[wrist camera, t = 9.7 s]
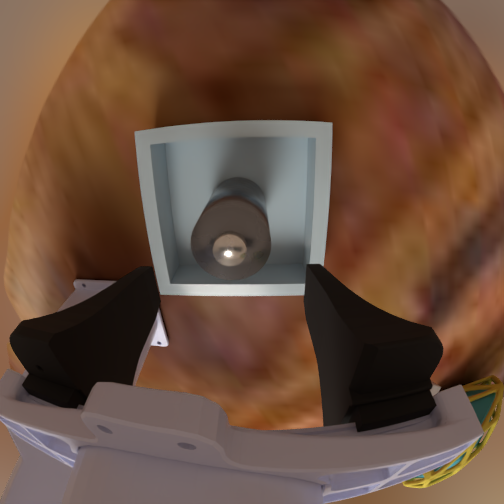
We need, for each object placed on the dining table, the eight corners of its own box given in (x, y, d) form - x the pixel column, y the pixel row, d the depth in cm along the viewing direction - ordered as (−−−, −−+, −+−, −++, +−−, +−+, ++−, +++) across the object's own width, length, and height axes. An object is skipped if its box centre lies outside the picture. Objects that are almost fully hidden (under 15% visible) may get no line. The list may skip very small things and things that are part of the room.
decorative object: (402, 424, 44) (439, 464, 33) (348, 462, 31) (397, 520, 20) (472, 343, 38) (517, 384, 26) (455, 356, 25) (523, 421, 13)
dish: (172, 271, 23) (160, 294, 20) (154, 129, 18) (134, 131, 15) (312, 270, 23) (319, 294, 20) (319, 122, 17) (332, 122, 14)
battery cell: (212, 229, 21) (192, 286, 14) (209, 177, 19) (183, 211, 12) (265, 229, 21) (271, 286, 14) (265, 176, 19) (272, 210, 12)
